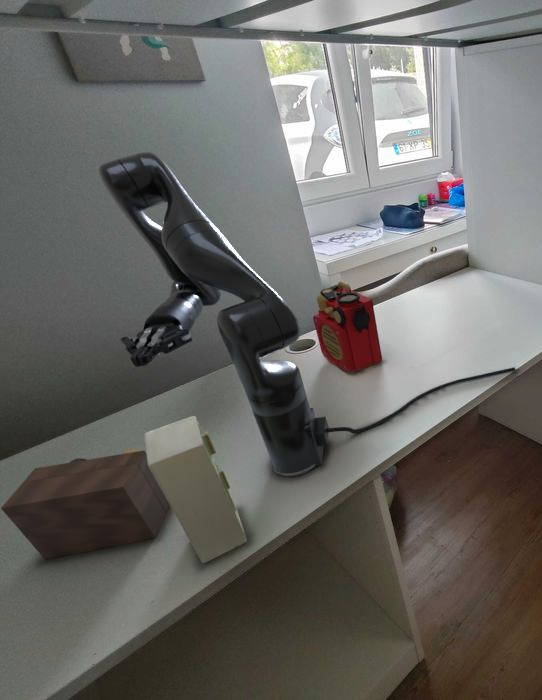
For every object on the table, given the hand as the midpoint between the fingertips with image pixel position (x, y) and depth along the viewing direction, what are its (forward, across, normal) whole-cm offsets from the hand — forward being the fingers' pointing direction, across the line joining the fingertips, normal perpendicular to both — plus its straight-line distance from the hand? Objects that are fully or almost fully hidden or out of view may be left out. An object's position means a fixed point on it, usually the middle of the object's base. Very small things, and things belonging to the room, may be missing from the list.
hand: (138, 362), depth 81 cm
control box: (+19, -4, +20) cm, 28 cm away
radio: (-24, +35, +20) cm, 47 cm away
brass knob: (+15, 0, +13) cm, 20 cm away
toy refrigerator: (+26, +15, +20) cm, 36 cm away
